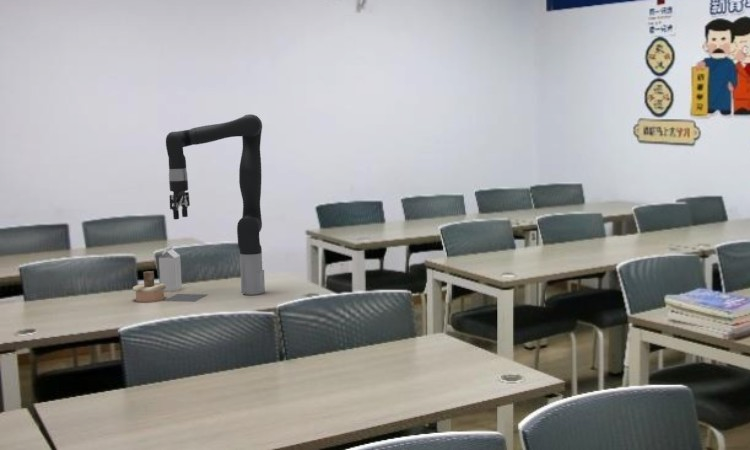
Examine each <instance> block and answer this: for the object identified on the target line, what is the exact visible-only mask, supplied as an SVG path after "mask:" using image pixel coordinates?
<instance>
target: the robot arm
mask: <svg viewBox="0 0 750 450" xmlns="http://www.w3.org/2000/svg"><path fill="white" fill-rule="evenodd" d="M262 133H263V123H262V120H261V119H260V117H259V116H257V115H255V114H251V113H250V114H245V115H243V116H241V117H239V118H236V119H233V120H230V121H226V122H223V123H217V124H208V125H202V126H197V127H193V128H190V129H185V130H178V131H171V132H169V133H168V134H167V135H166V137H165V147H166V148H165V149H166V152H167V158H168V180H169V181H168V183H169V191H170V192H173V193H172V194H169V209H170V210H171V211H172V217H173V220H179V219H180V212H179V209H180V207H181V213H182V214H181V217H182V218H187V217H188V208H189V207H190V205H191V204H190V194H189V193H190V192H189V191H188V190H189V181H188V171H187V161H186V155H185V154H184V148H185V147H190V146H194V145H195V146H197V145H202V144H208V143H212V142H216V141H219V140H224V139H227V138H233V137H241V138H242V150H241V157H240V162H239V163H240V164H239V170H238V171H239V172H238V175H239V176H238V177H239V181H238V183H239V189H240V194H241V198H242V217H241V218H240V219H239V220H238V222H237V226H236V234H237V247H238V249H239V265H240V266H239V267H240V289H241V291H240V292H241V294H243V295H246V296H251V295H252V296H253V295H262V294H263V293H265V292H266V288H265V287H266V286H265V285H266V284H265V282H266V281H265V269H263V254H262V253H263V251H262V246H261V242H260V232H261V230H262V228H263V221H262V212H261V197H262V195H261V194H262V158H261V142H262V141H261V139H262Z"/></svg>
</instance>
